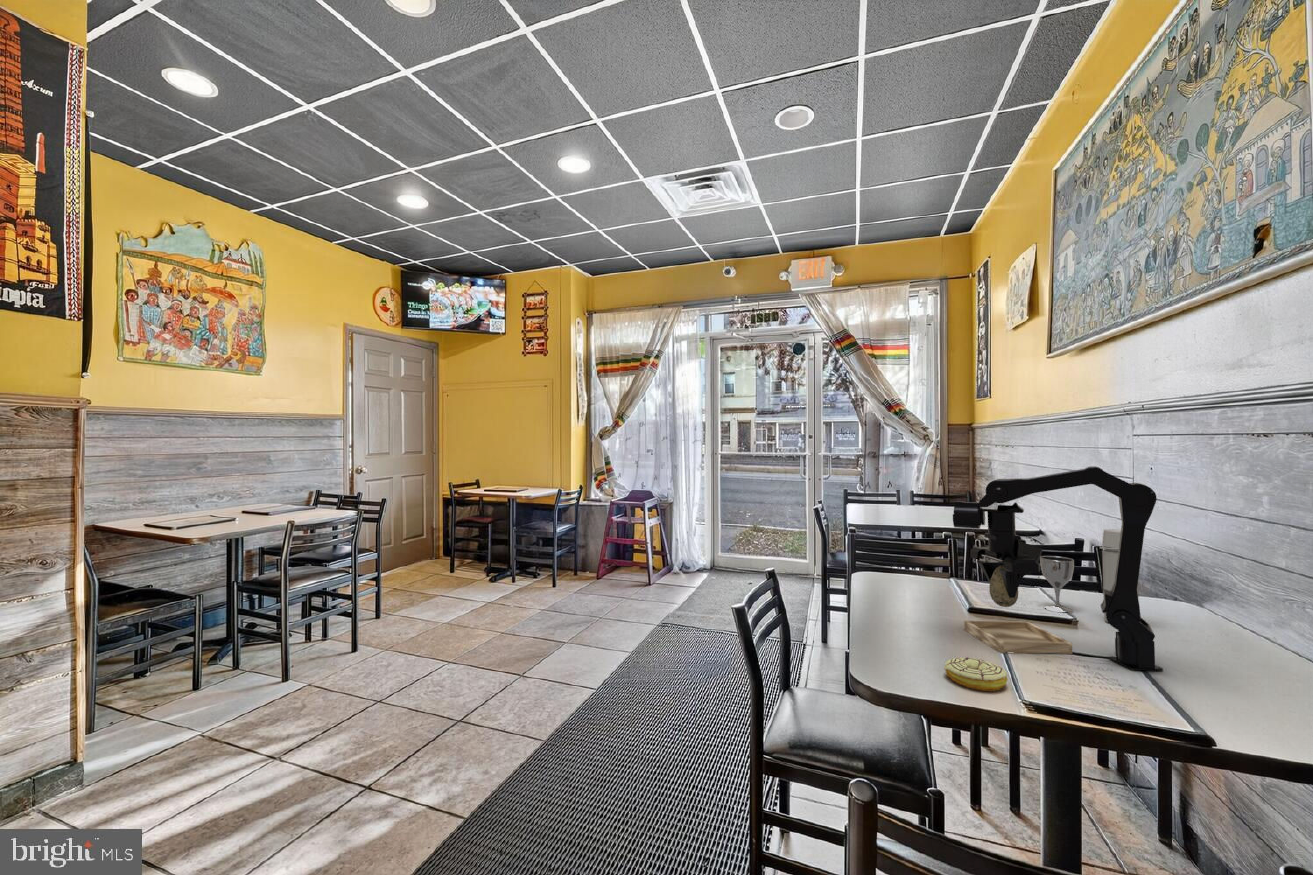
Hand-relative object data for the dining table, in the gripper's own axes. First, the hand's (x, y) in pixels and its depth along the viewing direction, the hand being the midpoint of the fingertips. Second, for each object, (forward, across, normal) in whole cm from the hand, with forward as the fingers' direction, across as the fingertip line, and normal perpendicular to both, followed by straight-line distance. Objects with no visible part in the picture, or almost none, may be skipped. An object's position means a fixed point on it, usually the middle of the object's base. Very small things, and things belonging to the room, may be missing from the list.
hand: (1004, 594), depth 131 cm
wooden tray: (+12, +1, -3) cm, 12 cm away
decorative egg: (+3, 0, 0) cm, 3 cm away
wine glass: (+12, +28, -32) cm, 44 cm away
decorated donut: (+12, -23, +20) cm, 33 cm away
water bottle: (+12, +16, -40) cm, 45 cm away
